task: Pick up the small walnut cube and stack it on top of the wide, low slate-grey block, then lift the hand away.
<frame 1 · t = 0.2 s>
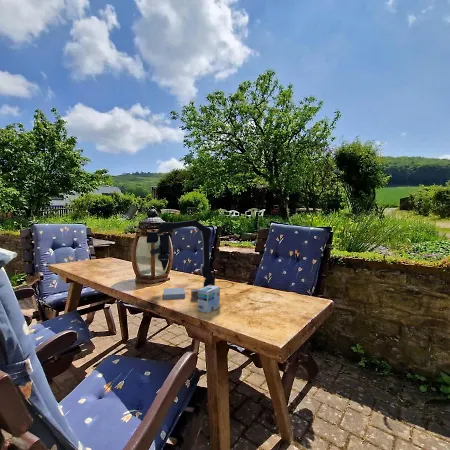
hand: (164, 268, 158), 14 cm above the table, tool pointing down, fingers open, 9 cm apart
slate block: (174, 296, 153), on the table
light bulb box: (208, 309, 131), on the table
walnut cube: (195, 298, 147), on the table
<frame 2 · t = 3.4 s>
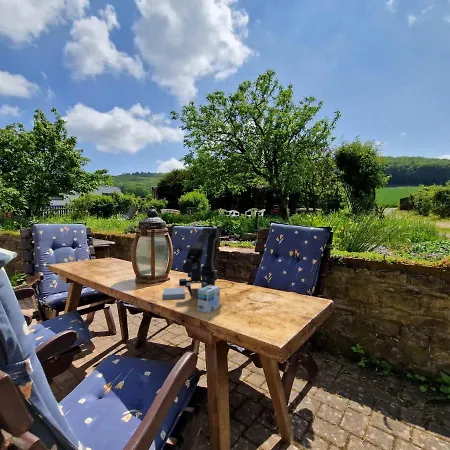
hand: (195, 296, 147), 1 cm above the table, tool pointing down, fingers closed on walnut cube, 5 cm apart
walnut cube: (195, 298, 147), on the table, touching gripper
everything else where it was.
when the fingers open (5 cm above the table, at t = 7.9 s): walnut cube drops 2 cm, point 2 cm above the table.
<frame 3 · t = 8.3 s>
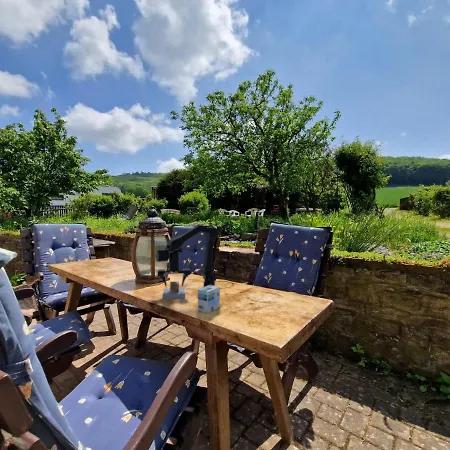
hand: (174, 286, 152), 5 cm above the table, tool pointing down, fingers open, 9 cm apart
walnut cube: (174, 291, 152), point 2 cm above the table
everything else where it was.
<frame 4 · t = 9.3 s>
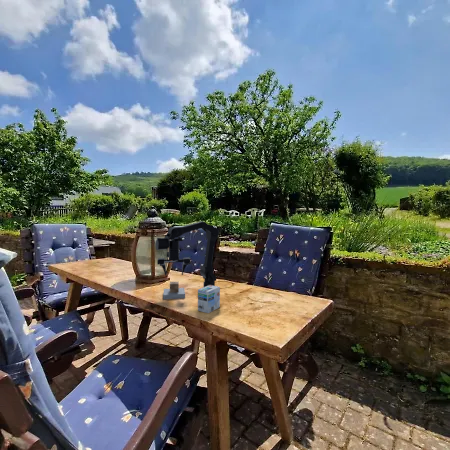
hand: (174, 275, 152), 12 cm above the table, tool pointing down, fingers open, 9 cm apart
nothing on the table moved.
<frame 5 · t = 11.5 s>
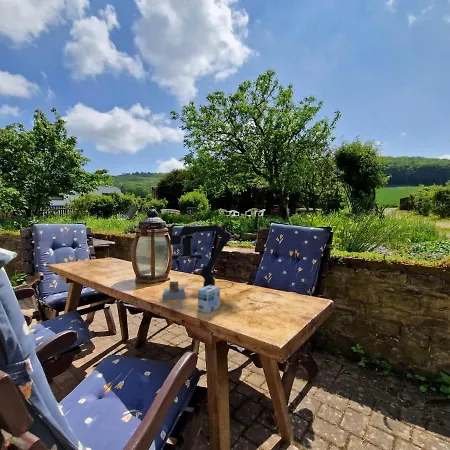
hand: (186, 270, 165), 12 cm above the table, tool pointing down, fingers open, 9 cm apart
nothing on the table moved.
at the end: walnut cube 0.2 cm off-centre on the slate block, point 3.0 cm above the slate block's base; walnut cube tilted 0°; the gripper is holding nothing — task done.
